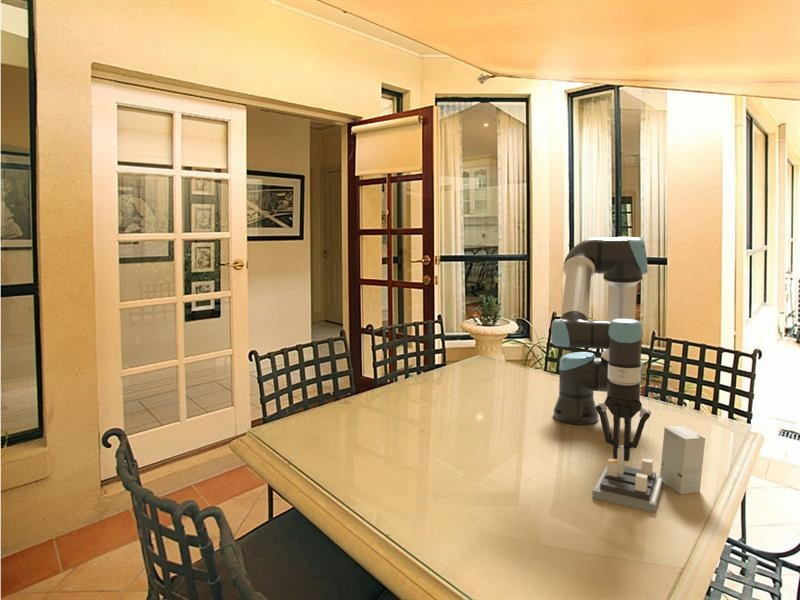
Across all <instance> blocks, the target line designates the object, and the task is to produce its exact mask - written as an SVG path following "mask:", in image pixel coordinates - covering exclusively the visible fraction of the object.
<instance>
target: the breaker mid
mask: <svg viewBox="0 0 800 600" xmlns="http://www.w3.org/2000/svg"><path fill="white" fill-rule="evenodd" d="M606 466H607V475H610V476H614V477H617V476H618V473H617V459H614V458H609V459H608V460H607V464H606Z"/></svg>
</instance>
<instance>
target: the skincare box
mask: <svg viewBox="0 0 800 600" xmlns="http://www.w3.org/2000/svg"><path fill="white" fill-rule="evenodd" d="M663 431H664V432H663V442H662V453H661V461H660V463H661V464H660V471H659V472H660V475H659V477H662V478H663V484H665V485H667V486H669V487H670V488H671V489H672V490H674V491H676V492H677V493H678V494H680V495H685V494H694V493H695V494H696V493H697V494H698V493H700V492H701V483H702V475H703V474H702V473H703V464H704V453H705V447H706V446H705V445H706V438H705V437H704V436H703V435H700V434H698V433H697V432H696V431H694V430H692V429H689V428H687V427H685V426H684V425H677V426H676V425H675V426H674V425H673V426H664V430H663Z"/></svg>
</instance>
